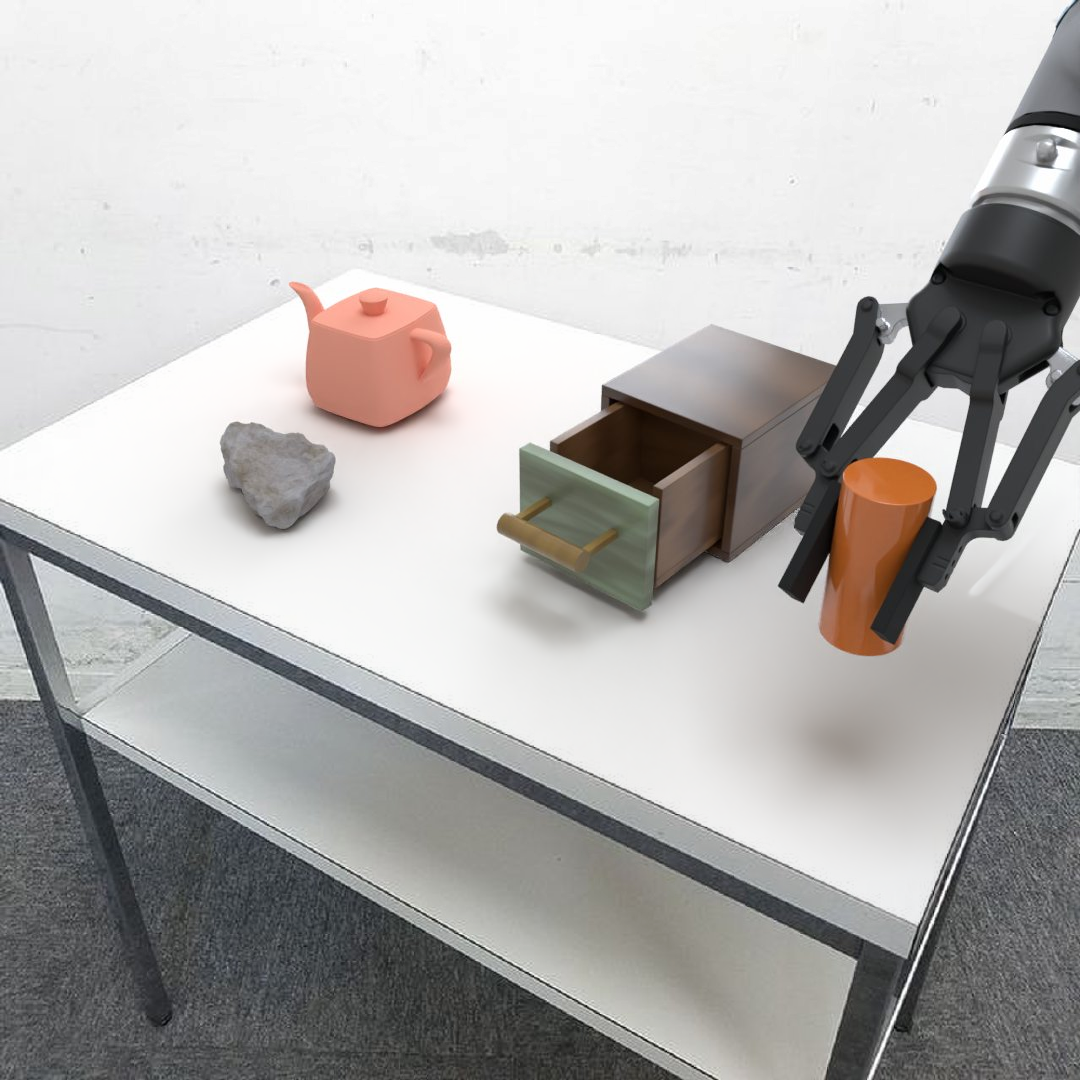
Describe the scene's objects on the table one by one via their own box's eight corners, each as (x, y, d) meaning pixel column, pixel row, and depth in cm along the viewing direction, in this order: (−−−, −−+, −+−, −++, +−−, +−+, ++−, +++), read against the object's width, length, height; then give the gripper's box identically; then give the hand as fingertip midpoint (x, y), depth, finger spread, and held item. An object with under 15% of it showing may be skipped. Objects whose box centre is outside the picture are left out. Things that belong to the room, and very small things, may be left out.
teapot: (414, 451, 102) (406, 340, 96) (260, 397, 110) (244, 292, 104) (490, 398, 110) (487, 293, 104) (341, 352, 118) (331, 252, 112)
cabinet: (728, 562, 89) (742, 439, 83) (597, 502, 96) (601, 384, 90) (827, 484, 98) (846, 368, 92) (701, 434, 105) (711, 323, 99)
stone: (192, 506, 95) (179, 442, 92) (263, 462, 101) (254, 401, 97) (283, 544, 91) (273, 479, 87) (352, 496, 96) (345, 433, 93)
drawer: (598, 646, 79) (602, 537, 74) (475, 579, 86) (471, 475, 81) (748, 530, 91) (760, 429, 86) (630, 478, 97) (635, 381, 92)
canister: (918, 627, 68) (953, 477, 62) (878, 668, 65) (910, 515, 59) (843, 594, 71) (870, 447, 65) (802, 632, 68) (825, 482, 62)
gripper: (865, 164, 66) (673, 533, 65) (1204, 239, 57) (984, 674, 56) (894, 231, 73) (719, 569, 72) (1203, 309, 63) (1006, 701, 62)
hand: (835, 614), depth 64 cm, fingers closed on canister, 5 cm apart
